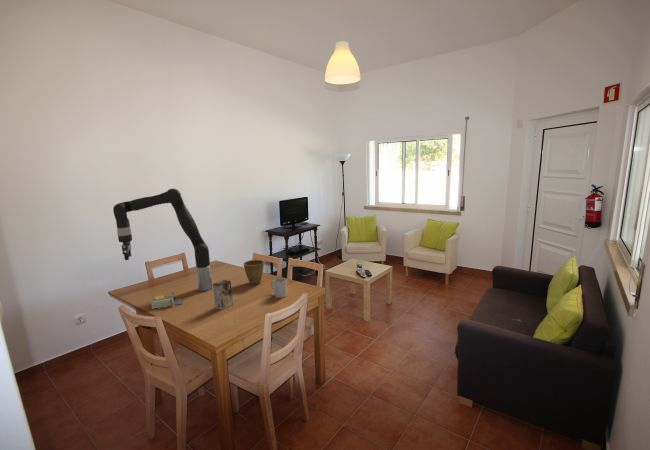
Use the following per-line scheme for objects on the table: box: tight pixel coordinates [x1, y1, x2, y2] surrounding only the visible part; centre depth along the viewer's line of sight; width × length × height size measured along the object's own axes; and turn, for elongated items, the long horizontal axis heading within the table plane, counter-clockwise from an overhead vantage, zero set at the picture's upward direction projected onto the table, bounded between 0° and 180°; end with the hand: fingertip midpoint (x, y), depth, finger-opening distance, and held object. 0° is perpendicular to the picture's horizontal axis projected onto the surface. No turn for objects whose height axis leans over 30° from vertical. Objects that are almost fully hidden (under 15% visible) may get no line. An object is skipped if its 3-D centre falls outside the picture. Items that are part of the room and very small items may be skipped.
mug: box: [271, 277, 288, 299], centre depth 214 cm, size 12×8×11 cm
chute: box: [150, 291, 183, 310], centre depth 204 cm, size 17×13×5 cm
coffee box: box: [212, 279, 234, 311], centre depth 197 cm, size 9×6×16 cm
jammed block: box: [154, 294, 165, 301], centre depth 202 cm, size 5×5×5 cm
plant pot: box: [243, 259, 265, 286], centre depth 236 cm, size 15×15×16 cm
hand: (128, 258), depth 206 cm, fingers open, 8 cm apart
